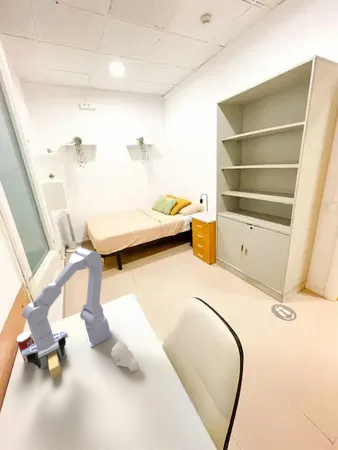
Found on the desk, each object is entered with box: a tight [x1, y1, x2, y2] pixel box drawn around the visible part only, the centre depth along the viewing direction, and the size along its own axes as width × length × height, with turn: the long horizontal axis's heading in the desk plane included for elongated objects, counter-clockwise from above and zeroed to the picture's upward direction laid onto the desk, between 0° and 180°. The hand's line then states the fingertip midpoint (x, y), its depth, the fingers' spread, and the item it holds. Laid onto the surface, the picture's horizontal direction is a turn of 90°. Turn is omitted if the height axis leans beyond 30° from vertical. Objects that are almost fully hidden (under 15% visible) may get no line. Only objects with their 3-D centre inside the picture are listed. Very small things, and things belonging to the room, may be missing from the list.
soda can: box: [16, 331, 38, 364], centre depth 84 cm, size 5×5×12 cm
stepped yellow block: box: [48, 350, 62, 379], centre depth 81 cm, size 3×12×4 cm, turn 35°
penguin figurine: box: [110, 341, 139, 373], centre depth 78 cm, size 6×8×12 cm
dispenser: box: [38, 342, 67, 369], centre depth 84 cm, size 9×7×6 cm
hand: (51, 360), depth 76 cm, fingers open, 7 cm apart
